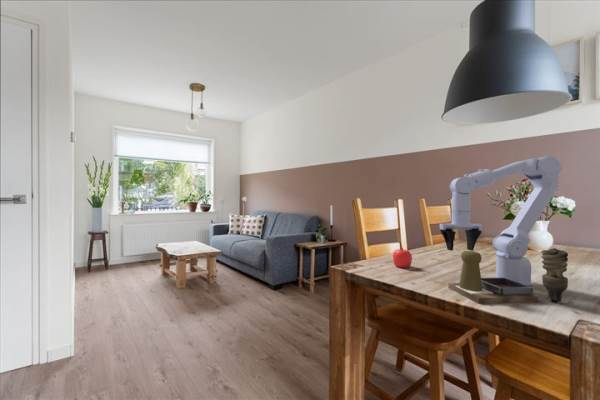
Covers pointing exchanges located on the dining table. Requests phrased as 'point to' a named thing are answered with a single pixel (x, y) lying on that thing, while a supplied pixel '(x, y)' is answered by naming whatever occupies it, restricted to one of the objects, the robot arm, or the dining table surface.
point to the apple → (402, 258)
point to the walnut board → (494, 296)
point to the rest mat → (477, 291)
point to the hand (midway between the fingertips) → (460, 250)
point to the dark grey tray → (513, 289)
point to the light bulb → (555, 273)
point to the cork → (470, 271)
